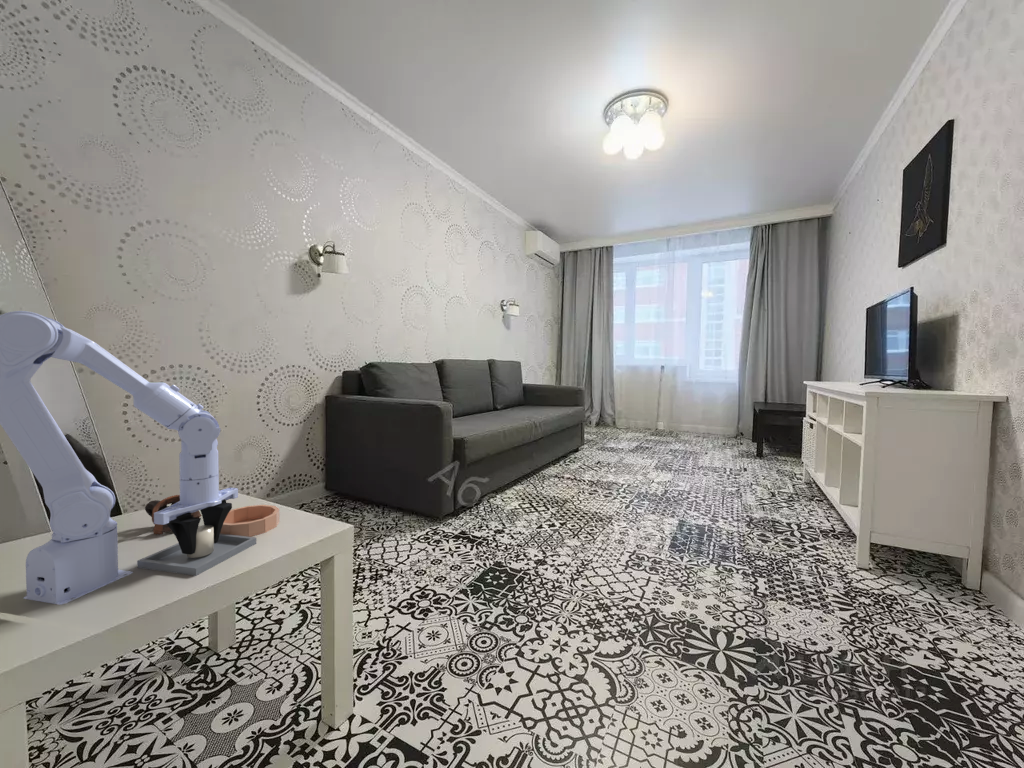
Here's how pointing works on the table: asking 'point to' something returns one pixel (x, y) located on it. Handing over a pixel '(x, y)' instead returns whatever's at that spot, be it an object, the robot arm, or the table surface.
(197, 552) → the cream rounded cylinder
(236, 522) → the terracotta bowl
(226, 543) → the parts tray
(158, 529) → the broken clay pot
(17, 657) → the table surface
